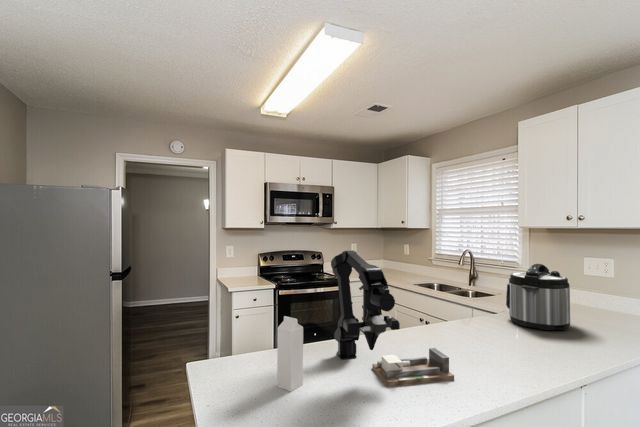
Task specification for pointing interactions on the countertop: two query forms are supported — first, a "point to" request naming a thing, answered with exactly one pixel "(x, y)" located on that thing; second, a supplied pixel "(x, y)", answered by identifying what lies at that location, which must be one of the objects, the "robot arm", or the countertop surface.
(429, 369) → the gauge base
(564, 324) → the pressure cooker
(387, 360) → the carriage
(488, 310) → the countertop surface
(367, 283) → the robot arm
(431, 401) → the countertop surface
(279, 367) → the milk
